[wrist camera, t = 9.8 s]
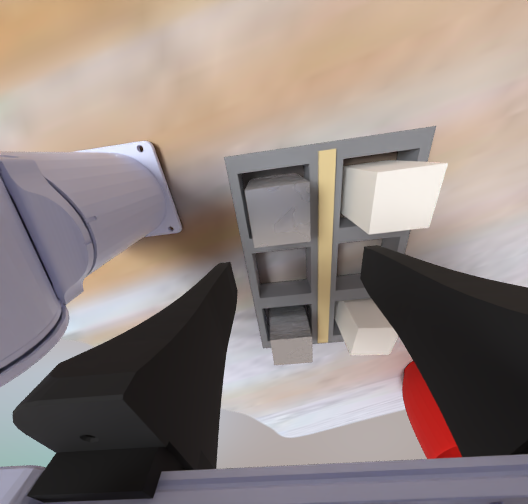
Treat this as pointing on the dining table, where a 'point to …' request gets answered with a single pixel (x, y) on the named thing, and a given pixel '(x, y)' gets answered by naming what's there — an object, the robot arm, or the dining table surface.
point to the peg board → (319, 225)
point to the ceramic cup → (427, 417)
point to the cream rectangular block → (364, 327)
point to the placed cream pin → (391, 194)
